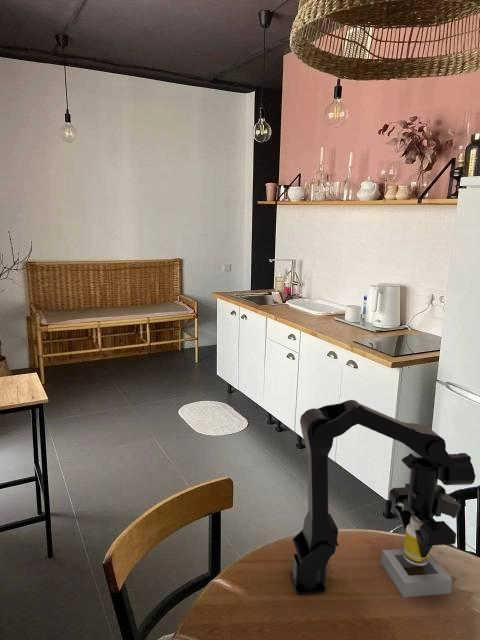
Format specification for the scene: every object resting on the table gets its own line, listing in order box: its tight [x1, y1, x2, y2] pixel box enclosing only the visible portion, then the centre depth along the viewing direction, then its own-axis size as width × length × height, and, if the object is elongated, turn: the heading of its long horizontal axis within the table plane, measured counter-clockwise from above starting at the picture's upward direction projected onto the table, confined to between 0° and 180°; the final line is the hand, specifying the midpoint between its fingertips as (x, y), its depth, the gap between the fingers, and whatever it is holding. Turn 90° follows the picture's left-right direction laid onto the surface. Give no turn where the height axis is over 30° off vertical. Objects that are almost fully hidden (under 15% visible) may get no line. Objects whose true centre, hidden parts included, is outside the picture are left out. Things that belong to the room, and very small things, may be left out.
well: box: [380, 548, 453, 599], centre depth 107 cm, size 11×11×4 cm
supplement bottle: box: [403, 515, 431, 566], centre depth 106 cm, size 5×5×10 cm
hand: (416, 548), depth 106 cm, fingers closed on supplement bottle, 5 cm apart
